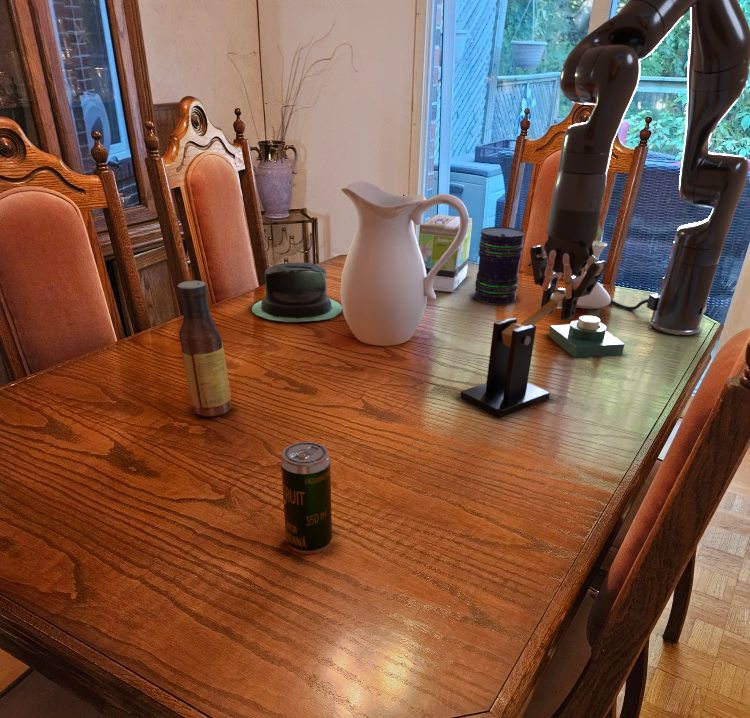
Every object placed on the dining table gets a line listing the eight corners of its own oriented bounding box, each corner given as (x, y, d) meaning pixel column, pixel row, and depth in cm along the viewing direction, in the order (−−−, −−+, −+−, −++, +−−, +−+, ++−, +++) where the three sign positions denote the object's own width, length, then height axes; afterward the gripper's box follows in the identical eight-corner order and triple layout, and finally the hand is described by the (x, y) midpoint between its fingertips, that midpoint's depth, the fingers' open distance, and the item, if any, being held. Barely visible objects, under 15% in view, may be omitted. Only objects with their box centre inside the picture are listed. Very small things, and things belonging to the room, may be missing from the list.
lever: (559, 299, 111) (557, 282, 108) (574, 304, 109) (573, 287, 106) (501, 345, 107) (498, 329, 105) (516, 351, 105) (513, 334, 103)
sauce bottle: (239, 405, 107) (226, 280, 96) (219, 421, 103) (203, 292, 91) (203, 398, 109) (186, 275, 98) (182, 414, 104) (162, 287, 93)
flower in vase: (569, 295, 161) (590, 181, 147) (616, 304, 155) (642, 187, 141) (547, 308, 152) (567, 189, 138) (596, 318, 146) (621, 195, 132)
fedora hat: (327, 287, 159) (360, 315, 144) (264, 331, 158) (290, 364, 144) (296, 231, 149) (328, 255, 134) (228, 279, 148) (253, 308, 134)
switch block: (548, 336, 137) (551, 316, 134) (593, 333, 139) (597, 314, 136) (574, 358, 127) (578, 337, 125) (622, 354, 129) (627, 334, 127)
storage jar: (474, 290, 162) (481, 225, 154) (515, 293, 161) (524, 227, 153) (473, 303, 154) (480, 235, 145) (516, 305, 153) (526, 237, 144)
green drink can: (309, 522, 81) (305, 435, 74) (341, 540, 78) (340, 451, 71) (276, 543, 78) (269, 453, 71) (309, 562, 75) (304, 471, 68)
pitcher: (327, 343, 131) (323, 189, 115) (360, 318, 144) (361, 176, 128) (443, 363, 123) (456, 202, 108) (467, 334, 136) (482, 186, 121)
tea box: (454, 293, 160) (459, 228, 152) (414, 288, 162) (417, 224, 154) (467, 277, 172) (473, 216, 164) (429, 273, 174) (433, 212, 166)
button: (573, 324, 132) (575, 316, 131) (592, 323, 133) (594, 315, 132) (583, 331, 129) (584, 322, 128) (602, 330, 130) (603, 321, 129)
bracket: (509, 381, 117) (519, 309, 110) (549, 399, 111) (562, 325, 104) (459, 398, 111) (467, 323, 104) (499, 418, 105) (509, 340, 98)
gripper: (631, 209, 97) (606, 324, 107) (556, 195, 107) (538, 301, 116) (599, 214, 94) (576, 333, 103) (524, 199, 103) (509, 309, 112)
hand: (556, 316), depth 110 cm, fingers closed on lever, 3 cm apart
